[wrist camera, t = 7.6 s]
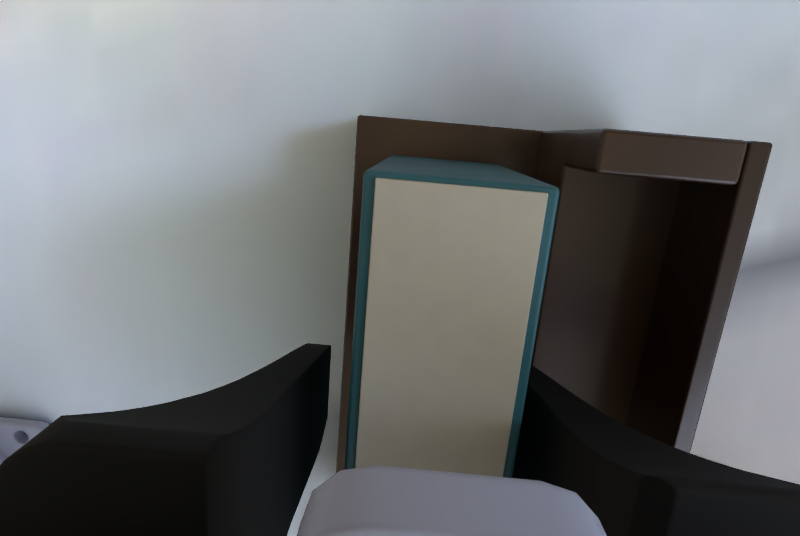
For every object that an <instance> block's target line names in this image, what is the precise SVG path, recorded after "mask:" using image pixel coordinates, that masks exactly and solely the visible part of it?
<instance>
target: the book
mask: <svg viewBox="0 0 800 536" xmlns="http://www.w3.org/2000/svg"><path fill="white" fill-rule="evenodd" d="M559 193H560V192H559V188H557V187H555V186H553V185H550V184H547V183H545V182H542V181H540V180H537V179H534V178H532V177H529V176H526V175H524V174H521V173H519V172H516V171H513V170H511V169H508V168H505V167H503V166H500V165H497V164H490V163H479V162H468V161H456V160H445V159H434V158H422V157H411V156H400V155H392V156H390V157H388V158H386V159H385V160H383V161H381V162H380V163H378V164H376V165H375V166H373V167H371V168H370V169H368V170H366V171H365V173H364V175H363V190H362V206H361V221H360V237H359V252H358V267H357V283H356V298H355V314H354V329H353V344H352V360H351V375H350V391H349V406H348V421H347V437H346V452H345V468H344V470H347V469H354V468H362V467H369V466H376V465H380V466H391V467H401V468H412V469H422V470H433V471H444V472H454V473H465V474H475V475H486V476H496V477H507V478H512V476H513V470H514V464H515V458H516V452H517V446H518V440H519V434H520V428H521V422H522V416H523V410H524V404H525V398H526V392H527V385H528V379H529V373H530V367H531V361H532V355H533V349H534V343H535V337H536V331H537V325H538V319H539V313H540V307H541V301H542V295H543V289H544V283H545V277H546V271H547V265H548V259H549V253H550V247H551V241H552V235H553V229H554V223H555V217H556V211H557V205H558V199H559Z"/></svg>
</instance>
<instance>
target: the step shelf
mask: <svg viewBox="0 0 800 536" xmlns="http://www.w3.org/2000/svg"><path fill="white" fill-rule="evenodd" d="M771 148H772V144H771V143H768V142H757V141H743V140H732V139H721V138H709V137H698V136H686V135H674V134H663V133H651V132H640V131H628V130H617V129H586V130H560V131H536V130H524V129H513V128H501V127H490V126H478V125H467V124H455V123H444V122H432V121H421V120H409V119H398V118H386V117H375V116H363V115H359V116H358V121H357V137H356V154H355V170H354V187H353V203H352V220H351V237H350V253H349V270H348V286H347V303H346V320H345V336H344V353H343V369H342V386H341V403H340V419H339V436H338V452H337V469H336V473H338V472H339V471H340V470H344V468H345V452H346V437H347V421H348V406H349V391H350V375H351V360H352V344H353V329H354V314H355V298H356V283H357V267H358V252H359V237H360V221H361V206H362V190H363V175H364V173H365V171H366V170H368V169H370V168H371V167H373V166H375V165H376V164H378V163H380V162H381V161H383V160H385V159H386V158H388V157H390V156H392V155H400V156H411V157H422V158H434V159H445V160H456V161H468V162H479V163H490V164H497V165H500V166H503V167H505V168H508V169H511V170H513V171H516V172H519V173H521V174H524V175H526V176H529V177H532V178H534V179H537V180H540V181H542V182H545V183H547V184H550V185H553V186H555V187H557V188H559V192H560V193H559V199H558V205H557V211H556V217H555V223H554V229H553V235H552V241H551V247H550V253H549V259H548V265H547V271H546V277H545V283H544V289H543V295H542V301H541V307H540V313H539V319H538V325H537V331H536V337H535V343H534V349H533V355H532V361H531V365H532V366H534V367H536V368H537V369H539V370H540V371H542V372H543V373H545V374H546V375H547V376H549V377H550V378H552V379H553V380H554V381H556V382H557V383H559V384H560V385H561V386H563V387H564V388H566V389H567V390H569V391H570V392H571V393H573V394H574V395H576V396H577V397H579V398H580V399H582V400H583V401H585V402H586V403H588V404H590V405H591V406H593V407H594V408H596V409H598V410H599V411H601V412H603V413H604V414H606V415H608V416H609V417H611V418H613V419H615V420H616V421H618V422H620V423H622V424H624V425H626V426H628V427H630V428H632V429H634V430H636V431H638V432H640V433H642V434H644V435H646V436H649V437H651V438H653V439H655V440H657V441H660V442H662V443H665V444H667V445H670V446H672V447H675V448H677V449H680V450H682V451H685V452H687V453H690V450H691V446H692V443H693V439H694V435H695V431H696V428H697V424H698V420H699V416H700V413H701V409H702V405H703V402H704V398H705V394H706V390H707V387H708V383H709V379H710V375H711V372H712V368H713V364H714V361H715V357H716V353H717V349H718V346H719V342H720V338H721V335H722V331H723V327H724V323H725V320H726V316H727V312H728V308H729V305H730V301H731V297H732V294H733V290H734V286H735V282H736V279H737V275H738V271H739V267H740V264H741V260H742V256H743V253H744V249H745V245H746V241H747V238H748V234H749V230H750V227H751V223H752V219H753V215H754V212H755V208H756V204H757V200H758V197H759V193H760V189H761V186H762V182H763V178H764V174H765V171H766V167H767V163H768V159H769V156H770V152H771Z"/></svg>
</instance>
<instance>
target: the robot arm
mask: <svg viewBox="0 0 800 536" xmlns="http://www.w3.org/2000/svg"><path fill="white" fill-rule="evenodd" d="M330 359H331V345H320V344H309V343H307V344H305V345H303V346H301V347H299V348H297V349H295V350H294V351H292V352H290V353H289V354H287V355H285V356H283V357H282V358H280V359H278V360H276V361H275V362H273V363H271V364H269V365H267V366H266V367H264V368H262V369H260V370H258V371H255V372H253V373H251V374H249V375H247V376H245V377H243V378H241V379H239V380H237V381H235V382H232V383H230V384H227V385H225V386H222V387H219V388H216V389H214V390H211V391H208V392H205V393H202V394H198V395H194V396H191V397H187V398H183V399H179V400H176V401H172V402H168V403H163V404H158V405H153V406H148V407H142V408H136V409H129V410H122V411H115V412H104V413H92V414H80V415H65V416H60V417H59V418H58V419H56V420H55V421H54V422H53V423H51V424H50V425H49V424H48V423H46V422H43V421H36V420H27V419H17V418H7V417H0V536H287V533H288V530H289V527H290V524H291V521H292V519H293V516H294V514H295V511H296V509H297V506H298V504H299V501H300V499H301V496H302V494H303V491H304V489H305V486H306V483H307V481H308V478H309V476H310V473H311V471H312V468H313V466H314V463H315V460H316V458H317V455H318V453H319V450H320V446H321V442H322V438H323V434H324V430H325V425H326V421H327V415H328V397H329V378H330ZM23 432H25V433H26V434H27V436H26V435H25V434H24V433H23ZM297 536H800V485H799V484H795V483H791V482H787V481H783V480H779V479H775V478H771V477H767V476H763V475H758V474H754V473H750V472H746V471H743V470H739V469H736V468H733V467H729V466H726V465H723V464H720V463H717V462H713V461H710V460H707V459H704V458H701V457H699V456H696V455H693V454H690V453H687V452H685V451H682V450H680V449H677V448H675V447H672V446H670V445H667V444H665V443H662V442H660V441H657V440H655V439H653V438H651V437H649V436H646V435H644V434H642V433H640V432H638V431H636V430H634V429H632V428H630V427H628V426H626V425H624V424H622V423H620V422H618V421H616V420H615V419H613V418H611V417H609V416H608V415H606V414H604V413H603V412H601V411H599V410H598V409H596V408H594V407H593V406H591V405H590V404H588V403H586V402H585V401H583V400H582V399H580V398H579V397H577V396H576V395H574V394H573V393H571V392H570V391H569V390H567V389H566V388H564V387H563V386H561V385H560V384H559V383H557V382H556V381H554V380H553V379H552V378H550V377H549V376H547V375H546V374H545V373H543V372H542V371H540V370H539V369H537V368H536V367H534V366H532V365H531V367H530V373H529V379H528V385H527V392H526V398H525V404H524V410H523V416H522V422H521V428H520V434H519V440H518V446H517V452H516V458H515V464H514V470H513V476H512V478H507V477H496V476H486V475H475V474H465V473H454V472H444V471H433V470H422V469H412V468H401V467H391V466H380V465H376V466H369V467H362V468H354V469H347V470H340V471H339V472H338V473H336V474H335V475H333V476H332V477H331V478H329V479H328V480H327V481H325V482H324V483H323V484H321V485H320V486H318V487H317V488H316V489H314V490H313V491H312V494H311V496H310V499H309V502H308V504H307V507H306V510H305V512H304V515H303V518H302V521H301V524H300V527H299V530H298V534H297Z"/></svg>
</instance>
